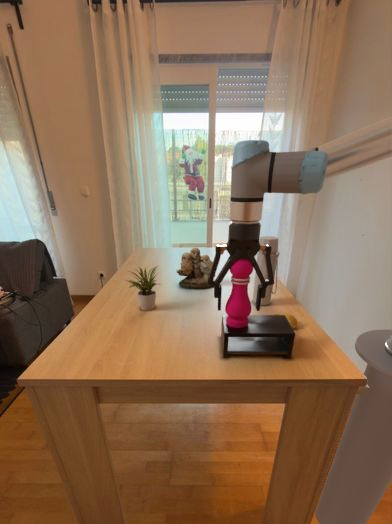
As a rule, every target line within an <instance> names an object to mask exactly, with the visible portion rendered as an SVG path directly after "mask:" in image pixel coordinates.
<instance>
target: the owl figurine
mask: <svg viewBox="0 0 392 524" xmlns="http://www.w3.org/2000/svg"><path fill="white" fill-rule="evenodd" d="M212 264H213V260H212V259H210V256H209V255H208V254H204V255H201V249H200V248H198V247H192V248H191V249H190V250H189V252H184V253H181V261H180V268H179V269H176V274H178V276H180V277H184V278H182V279H181V280H180V281H178V286H179V287H180V288H182V289H188V290H189V289H191V290H206V289H211V288H212V287H214V286H213V285H209V284H208V277H209V273H210V270H211V267H212ZM215 277H216V275H215V276H214V278H215Z"/></svg>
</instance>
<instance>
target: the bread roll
mask: <svg viewBox="0 0 392 524" xmlns="http://www.w3.org/2000/svg"><path fill="white" fill-rule="evenodd" d="M274 315H285V316H286V318H287V320H288V322H289V323H290V325H291V327H292V328H293V329H295V328H296V327H297V325H298V319H297V318H296V316H294V315H293V314H291V313H281V314H279V313H278V314H277V313H276V314H274Z"/></svg>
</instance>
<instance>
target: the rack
mask: <svg viewBox="0 0 392 524" xmlns="http://www.w3.org/2000/svg"><path fill="white" fill-rule="evenodd" d="M227 316H228V315H227V314H221V328H220V329H221V330H220V331H221V333H220V339H221V349H222V358H223V359H227V358H228V355H270V356H271V355H277V356H279V355H281V356H282V355H283V356H285V359H286V360H288V359H289V360H290V359H291V358H292V355H293V349H294V343H295V338H296V332H295V330H294V328H292V327H291V325H290V323H289V322H288V320H287V318H286V316H285V315H281V314H279V315H275V314H250V315H249V316H247V317H248V318H249V321H248V325H247V326H246V327H243V328H233V327H230V326H228V325H227V323H226V318H227Z"/></svg>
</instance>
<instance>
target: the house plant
mask: <svg viewBox="0 0 392 524" xmlns="http://www.w3.org/2000/svg"><path fill="white" fill-rule="evenodd" d="M158 267H159V265H157V266H154V267H151V268H150V269H149V271H148V273H147V268H146V267H144V269H142V267H141V266H140V265H138V269H139V270H138V269H135V271H136V272H137V273H138V274H139V275H138V274H137V273H135V272H133V271H130V270H127V272H128V273H129V275H132V276H134V278H135V279H136V280H137V281H135V280H132V279H124V281H125V282H127V283H129V284H131V285H129V286H128V290H129V289H131V288H134V287H136V289H138V290H139V291H137V293H136V294H137V297H138V301H139V305H140V308H141V310H142V311H152V310H154V309H155V307H156V297H157V292H156V290H154V289H153V288H154V286H156V285H158V283H157V280H156V279H155V278H156V277H157V276H158V273H159V271H157V270H158V269H157V268H158ZM159 285H161V286H162V284H161V283H159Z"/></svg>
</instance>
